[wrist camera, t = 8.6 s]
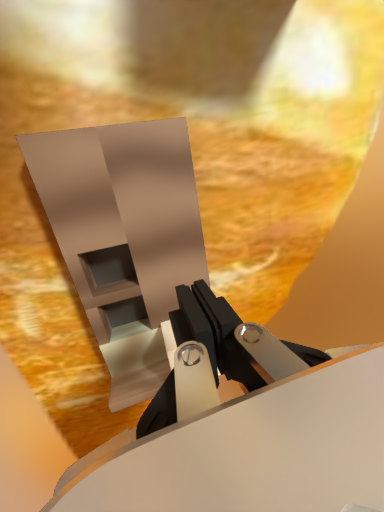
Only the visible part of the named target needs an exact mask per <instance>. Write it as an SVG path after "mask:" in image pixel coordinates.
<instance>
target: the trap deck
mask: <svg viewBox="0 0 384 512" xmlns="http://www.w3.org/2000/svg"><path fill="white" fill-rule="evenodd" d="M15 137H16V140H17V142H18V145H19V147H20V150H21V152H22V155H23V157H24V160H25V162H26V165H27V167H28V170H29V172H30V175H31V177H32V180H33V182H34V185H35V187H36V190H37V192H38V195H39V197H40V200H41V202H42V205H43V207H44V210H45V212H46V215H47V217H48V220H49V222H50V225H51V227H52V230H53V232H54V235H55V237H56V240H57V242H58V245H59V247H60V250H61V252H62V255H63V257H64V260H65V262H66V265H67V267H68V270H69V272H70V275H71V277H72V280H73V282H74V285H75V287H76V290H77V292H78V295H79V297H80V300H81V302H82V305H83V307H84V310H85V312H86V315H87V317H88V320H89V322H90V325H91V327H92V330H93V332H94V335H95V337H96V340H97V342H98V345H99V347H100V350H101V352H102V355H103V357H104V360H105V362H106V365H107V367H108V370H109V372H110V375H111V385H110V395H109V404H108V406H109V408H110V411H111V413H114V412H116V411H119V410H122V409H124V408H127V407H130V406H132V405H135V404H138V403H141V402H143V401H146V400H149V399H151V398H154V396H155V395H156V393H157V392H158V390H159V389H160V387H161V386H162V384H163V383H164V381H165V380H166V378H167V377H168V375H169V374H170V372H171V367H170V363H169V359H168V355H167V351H166V347H165V342H164V337H163V332H162V328H161V322H165V321H168V320H170V318H169V314H168V312H170V311H174V310H177V309H179V304H178V299H177V294H176V290H175V286H178V285H182V284H185V286H188V285H189V287H190V289H191V284H194V281H197V280H200V279H203V280H204V281H205V282H206V284H207V285H208V287H209V288H210V282H209V275H208V268H207V261H206V254H205V247H204V240H203V233H202V226H201V219H200V212H199V205H198V198H197V191H196V184H195V177H194V170H193V163H192V156H191V150H190V143H189V136H188V129H187V122H186V117H180V118H171V119H161V120H152V121H143V122H134V123H125V124H116V125H107V126H97V127H88V128H79V129H70V130H61V131H52V132H43V133H33V134H24V135H15ZM191 291H192V290H191Z"/></svg>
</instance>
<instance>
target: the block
mask: <svg viewBox="0 0 384 512" xmlns="http://www.w3.org/2000/svg"><path fill="white" fill-rule="evenodd" d="M161 328H162V332H163V337H164V342H165V347H166V351H167V355H168V359H169V363H170V367H171V371H172V369H173V368H174V353H175V351H176V349H177V345H176V342H175V338H174V334H173V331H172V327H171V322H170V320H168V321H165V322H161ZM217 369H218V368H217ZM219 375H221V374H220V372H219V370H218V376H219Z"/></svg>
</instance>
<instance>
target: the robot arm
mask: <svg viewBox="0 0 384 512" xmlns="http://www.w3.org/2000/svg"><path fill="white" fill-rule="evenodd" d="M175 290H176V294H177V299H178V304H179V309H177V310H174V311H170V312H168V314H169V318H170V322H171V327H172V331H173V334H174V338H175V342H176V345H177V349H176V351H175V353H174V368H173V369H172V371H171V372H170V374H169V375H168V377H167V378H166V380H165V381H164V383H163V384H162V386H161V387H160V389H159V390H158V392H157V393H156V395H155V396H154V398H153V399H152V401H151V403H150V404H149V406H148V407H147V409H146V410H145V412H144V413H143V415H142V416H141V418H140V420H139V422H138V424H137V425H136V426H135V427H133V428H132V429H130V430H129V429H128V428H126V429H125V430H123V431H122V432H120V433H119V434H117V435H116V436H114V437H113V438H111V439H110V440H108V441H107V442H105V443H103V444H102V445H100V446H99V447H97V448H96V449H94V450H93V451H91V452H90V453H88V454H87V455H85V456H84V457H82V458H81V459H79V460H78V461H76V462H75V463H73V464H72V465H71V466H70V467H69V468H68V469H67V470H66V471H65V472H64V474H63V475H62V476H61V478H60V479H59V481H58V483H57V485H56V488H55V490H54V495H53V498H52V499H51V500H50V501H49V502H48V503H47V504H46V505H45V506H44V507H43V508H42V509H41V511H40V512H384V342H382V343H378V344H365V345H357V346H350V347H342V348H334V349H327V350H326V352H325V353H324V352H322V351H320V350H317V349H314V348H310V347H306V346H302V345H299V344H295V343H291V342H287V341H283V340H279V339H277V338H276V337H275V336H273V335H272V334H271V333H270V332H269V331H268V330H266V329H265V328H264V327H263V326H261V325H260V324H257V323H253V322H245V323H243V322H242V320H241V319H240V318H239V316H238V315H237V314H236V313H235V311H234V310H233V309H232V307H231V306H230V305H229V304H228V302H227V301H226V300H225V298H224V297H222V296H221V297H218V298H216V296H215V295H214V293H213V292H212V291H211V289H210V288H209V287H208V285H207V284H206V282H205V281H204V280H203V279H200V280H197V281H194V284H191V289H190V287H189V285H188V286H185V284H182V285H178V286H175ZM191 290H192V291H191ZM217 368H218V369H217ZM218 370H219V372H220V374H221V375H223V374H225V376H226V378H227V380H231V379H232V380H235V381H238V382H239V385H240V387H241V389H242V391H243V392H244V393H245V395H242V396H240V397H237V398H235V399H232V400H230V401H228V402H225V403H223V404H220V400H219V397H218V392H217V388H218V386H219V379H218Z"/></svg>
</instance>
